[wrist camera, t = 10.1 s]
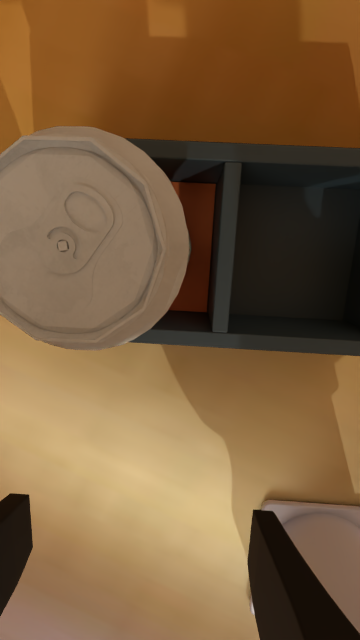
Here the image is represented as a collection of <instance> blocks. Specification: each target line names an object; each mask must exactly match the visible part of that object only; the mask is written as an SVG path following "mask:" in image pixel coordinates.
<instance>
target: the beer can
mask: <svg viewBox="0 0 360 640" xmlns="http://www.w3.org/2000/svg"><path fill="white" fill-rule="evenodd" d="M190 254H191V240H190V236H189V231H188V229H187V226H186V221H185V216H184V212H183V207H182V204H181V202H180V200H179V198H178V195H177V194H176V192H175V190H174V188H173V186H172V184H171V182H170V180H169V179H168V177H167V176H166V174H165V173H164V172H163V171H162V170H161V169H160V168H159V167H158V166H157V164H156V163H155V162H154V161H153V160H152V159H151V158H150V157H149V156H148V155H147V154H146V153H145V152H144V151H142V150H141V149H139V148H138V147H136V146H135V145H133V144H132V143H130V142H129V141H127V140H126V139H124V138H122V137H120V136H117V135H115V134H112V133H109V132H106V131H103V130H100V129H97V128H94V127H86V126H56V127H52V128H48V129H44V130H39V131H37V132H35V133H33V134H31V135H29V136H22V137H21V138H19V139H18V140H17V141H16V142H15V143H13V144H12V145H11V146H10V147H9V148H7V149H6V150H5V151H4V152H3V153H1V154H0V315H2V316H3V317H5V318H6V319H7V320H9V321H10V322H11V323H13V324H14V325H16V326H17V327H18V328H20V329H21V330H23V331H24V332H25V333H27V334H28V335H29V336H31V337H32V338H34V339H35V340H41V341H43V342H45V343H48V344H51V345H54V346H58V347H62V348H66V349H74V350H101V349H106V348H110V347H115V346H119V345H122V344H125V343H127V342H129V341H132V340H134V339H135V338H137V337H138V336H140V335H142V334H143V333H145V332H146V331H148V330H149V329H151V328H152V327H153V326H154V325H155V324H156V323H157V322H158V321H159V320H160V319H161V318H162V317H163V316H164V315H165V313H166V312H167V311H168V309H169V308H170V306H171V304H172V303H173V301H174V300H175V298H176V296H177V295H178V293H179V290H180V287H181V284H182V282H183V279H184V276H185V273H186V268H187V265H188V262H189V260H190Z"/></svg>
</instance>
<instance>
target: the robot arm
mask: <svg viewBox="0 0 360 640" xmlns="http://www.w3.org/2000/svg"><path fill="white" fill-rule="evenodd" d="M32 548H33V543H32V529H31V515H30V501H29V495H26V494H9V495H8V496H7V497H5V498H4V499H3V500H1V501H0V616H1V614H2V612H3V610H4V608H5V607H6V605H7V603H8V601H9V599H10V597H11V595H12V593H13V592H14V590H15V588H16V586H17V584H18V581H19V579H20V577H21V574H22V572H23V570H24V568H25V565H26V563H27V560H28V558H29V555H30V553H31V550H32ZM248 571H249V579H250V588H251V597H250V611H251V613H252V614H254V615H255V618H256V623H257V627H258V632H259V637H260V640H360V506H348V505H334V504H320V503H307V502H293V501H279V500H266V501H265V502H264V503H263V504H262V509H261V510H253V516H252V525H251V535H250V544H249V554H248Z"/></svg>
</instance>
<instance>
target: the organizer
mask: <svg viewBox="0 0 360 640" xmlns="http://www.w3.org/2000/svg"><path fill="white" fill-rule="evenodd" d="M124 139H126V140H127V141H129V142H130V143H132V144H133V145H135V146H136V147H138V148H139V149H141V150H142V151H144V152H145V153H146V154H147V155H148V156H149V157H150V158H151V159H152V160H153V161H154V162H155V163H156V164H157V166H158V167H159V168H160V169H161V170H162V171H163V172H164V173H165V174H166V176H167V177H168V179H169V180H170V182H171V184H172V186H173V188H174V190H175V192H176V194H177V195H178V198H179V200H180V202H181V204H182V207H183V212H184V216H185V221H186V226H187V229H188V231H189V236H190V240H191V254H190V260H189V262H188V265H187V268H186V273H185V276H184V279H183V282H182V284H181V287H180V290H179V293H178V295H177V296H176V298H175V300H174V301H173V303H172V304H171V306H170V308H169V309H168V311H167V312H166V313H165V315H164V316H163V317H162V318H161V319H160V320H159V321H158V322H157V323H156V324H155V325H154V326H153V327H152V328H151V329H149V330H148V331H146V332H145V333H143V334H142V335H140V336H138V337H137V338H135V339H134V340H132V341H129V342H135V343H151V344H168V345H185V346H201V347H218V348H235V349H251V350H268V351H285V352H301V353H318V354H335V355H351V356H360V148H342V147H318V146H294V145H270V144H247V143H223V142H199V141H175V140H152V139H128V138H124Z"/></svg>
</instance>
